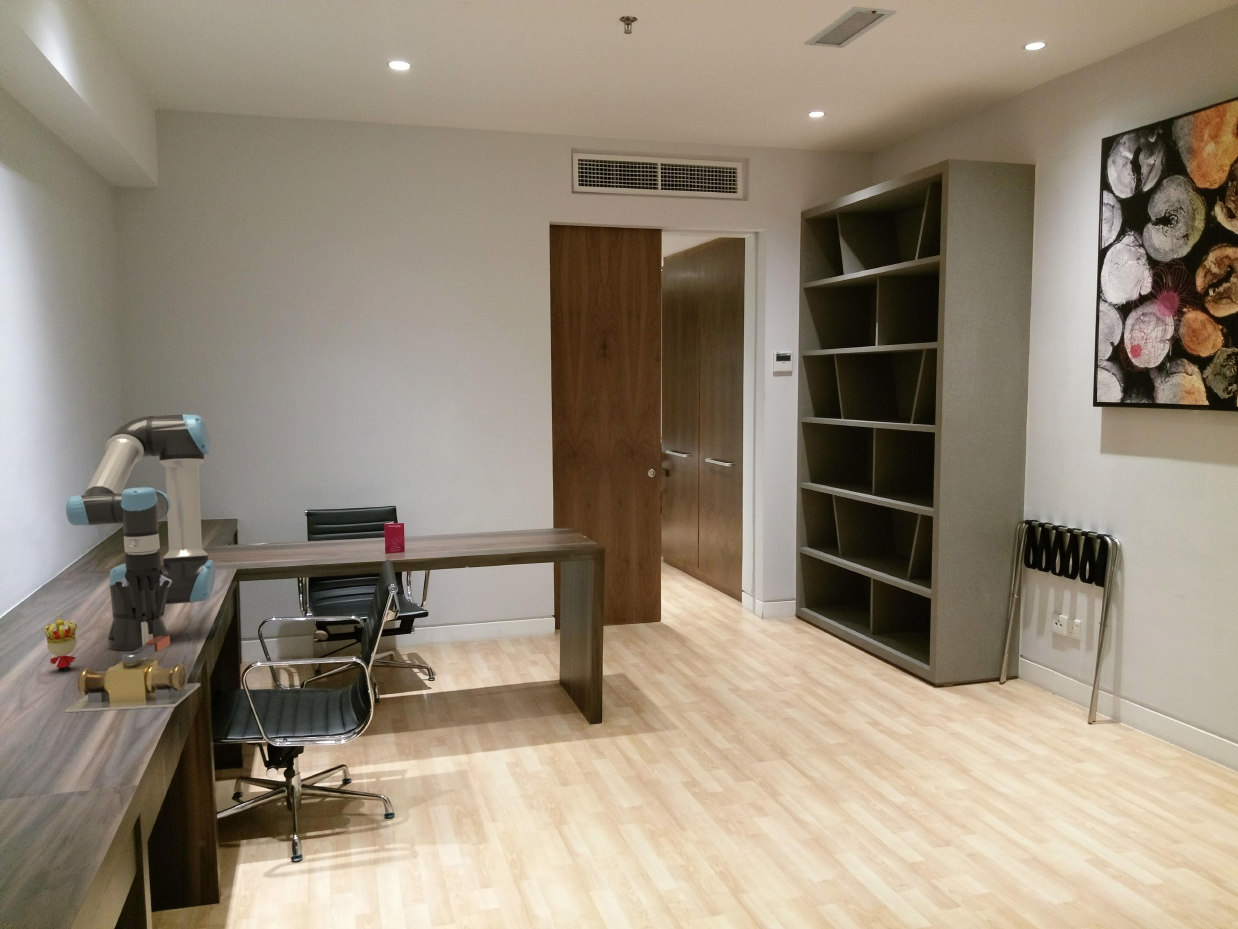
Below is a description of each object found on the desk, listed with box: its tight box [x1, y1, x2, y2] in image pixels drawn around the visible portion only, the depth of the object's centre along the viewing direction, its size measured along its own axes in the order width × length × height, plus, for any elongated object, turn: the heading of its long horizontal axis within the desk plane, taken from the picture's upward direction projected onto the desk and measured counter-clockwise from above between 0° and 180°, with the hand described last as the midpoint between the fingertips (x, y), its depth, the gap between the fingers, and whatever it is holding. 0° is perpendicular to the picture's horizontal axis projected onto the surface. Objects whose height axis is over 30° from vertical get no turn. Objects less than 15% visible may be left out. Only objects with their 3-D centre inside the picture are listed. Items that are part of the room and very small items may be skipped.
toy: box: [43, 613, 78, 673], centre depth 226 cm, size 7×7×15 cm
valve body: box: [64, 659, 201, 713], centre depth 205 cm, size 24×14×8 cm, turn 94°
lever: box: [121, 635, 171, 667], centre depth 210 cm, size 16×4×2 cm, turn 0°
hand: (148, 646), depth 215 cm, fingers closed
